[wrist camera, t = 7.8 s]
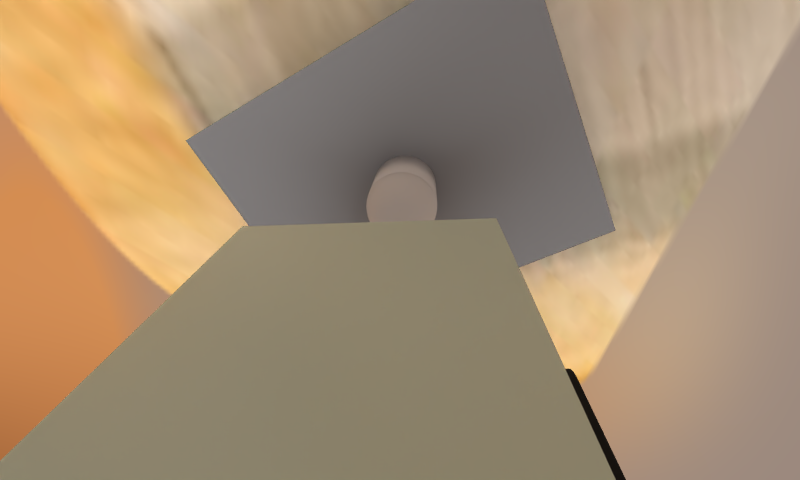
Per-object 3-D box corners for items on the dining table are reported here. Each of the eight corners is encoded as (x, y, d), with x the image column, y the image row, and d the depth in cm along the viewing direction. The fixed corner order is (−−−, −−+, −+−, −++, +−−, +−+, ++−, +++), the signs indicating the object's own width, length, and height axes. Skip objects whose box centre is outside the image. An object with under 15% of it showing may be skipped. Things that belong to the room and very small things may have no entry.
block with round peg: (242, 226, 10) (-72, 529, 4) (496, 218, 10) (647, 549, 3) (303, 463, 15) (207, 799, 8) (482, 466, 14) (534, 824, 8)
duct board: (519, -61, 18) (559, -108, 12) (608, 223, 24) (661, 274, 18) (195, 136, 23) (124, 163, 17) (335, 330, 29) (315, 394, 23)
